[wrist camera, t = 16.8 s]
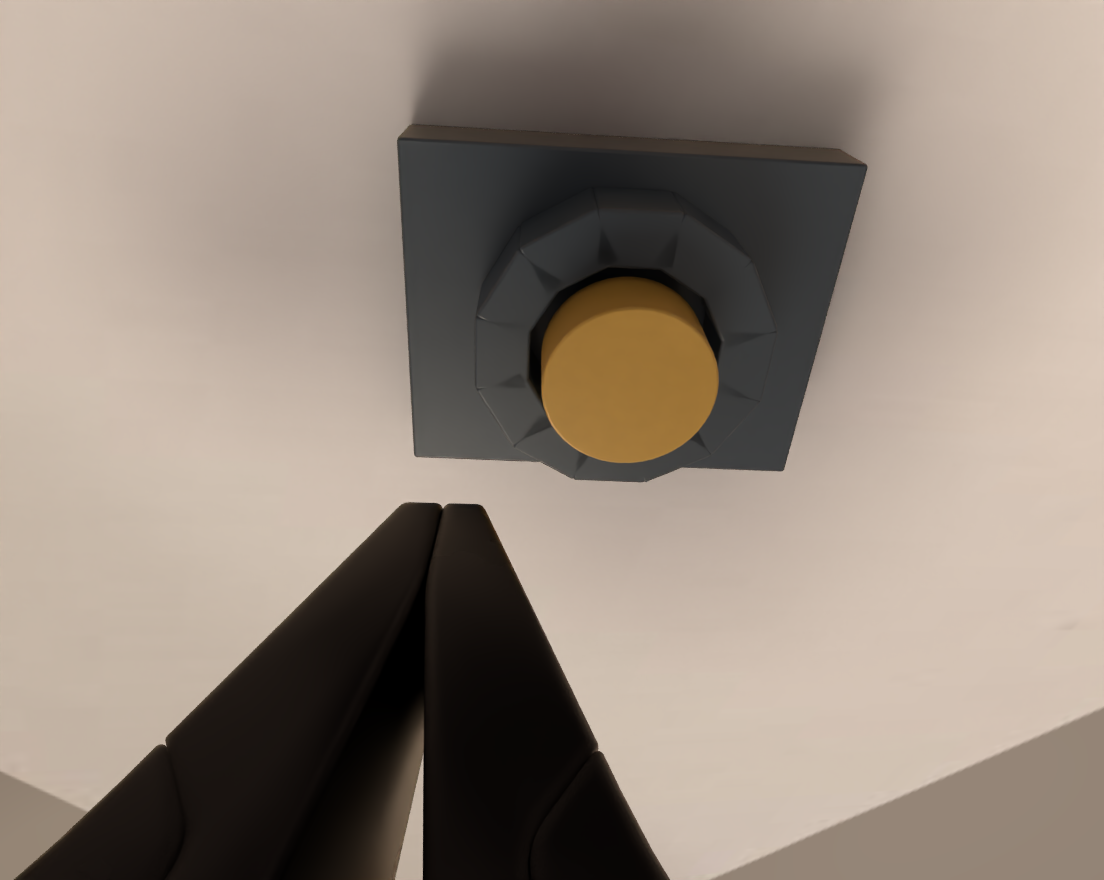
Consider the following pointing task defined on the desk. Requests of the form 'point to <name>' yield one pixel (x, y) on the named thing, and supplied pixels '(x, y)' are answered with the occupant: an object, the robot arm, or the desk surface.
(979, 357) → the desk surface
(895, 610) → the desk surface
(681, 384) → the button
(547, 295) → the switch block
